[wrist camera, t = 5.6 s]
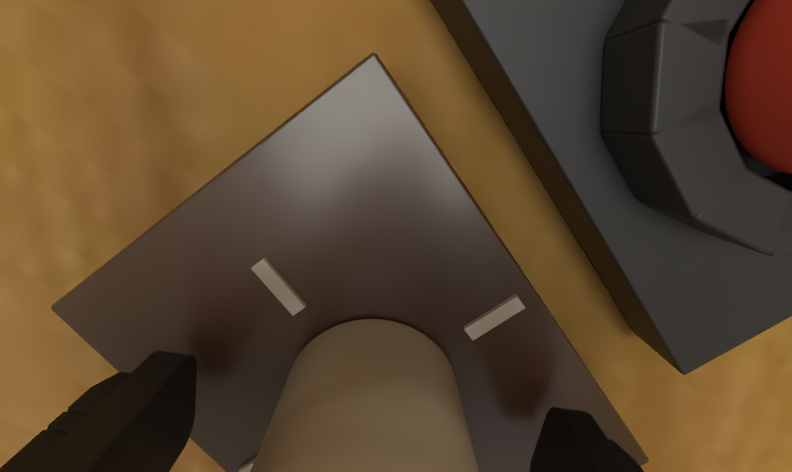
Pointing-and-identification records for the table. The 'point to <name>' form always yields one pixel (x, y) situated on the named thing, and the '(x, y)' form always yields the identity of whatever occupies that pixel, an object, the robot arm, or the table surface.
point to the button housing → (643, 158)
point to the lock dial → (369, 406)
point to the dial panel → (338, 280)
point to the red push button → (762, 83)
